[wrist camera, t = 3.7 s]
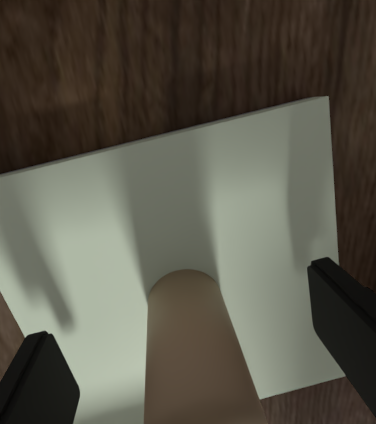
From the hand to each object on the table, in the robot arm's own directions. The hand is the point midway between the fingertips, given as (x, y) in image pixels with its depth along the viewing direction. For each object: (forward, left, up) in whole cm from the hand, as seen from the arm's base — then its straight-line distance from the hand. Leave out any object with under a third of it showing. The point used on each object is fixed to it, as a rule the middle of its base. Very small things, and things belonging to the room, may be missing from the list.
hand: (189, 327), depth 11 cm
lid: (0, 0, -2) cm, 2 cm away
